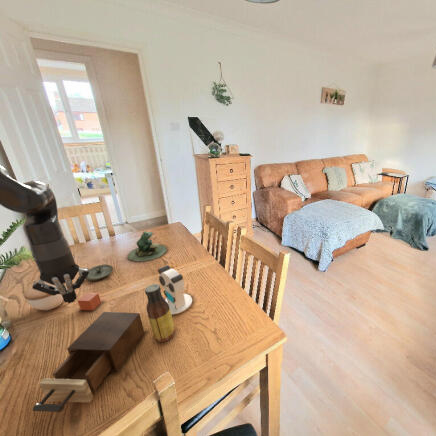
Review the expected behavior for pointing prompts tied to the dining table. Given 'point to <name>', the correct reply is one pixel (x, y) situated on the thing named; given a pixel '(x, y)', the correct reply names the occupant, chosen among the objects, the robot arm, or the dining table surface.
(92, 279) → the lid
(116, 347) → the cabinet
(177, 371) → the dining table surface
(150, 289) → the sauce bottle
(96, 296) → the block
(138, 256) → the frog figurine
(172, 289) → the panda figurine
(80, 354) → the drawer
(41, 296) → the trinket box
